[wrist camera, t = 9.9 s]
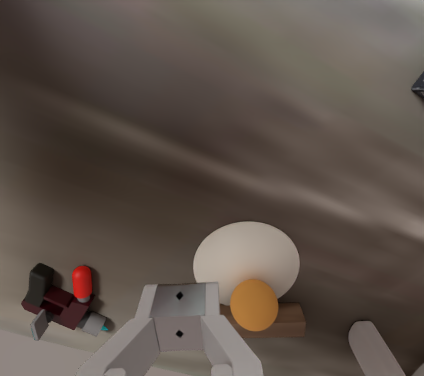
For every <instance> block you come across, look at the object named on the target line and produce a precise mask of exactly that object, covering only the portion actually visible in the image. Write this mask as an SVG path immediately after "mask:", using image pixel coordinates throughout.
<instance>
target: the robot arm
mask: <svg viewBox="0 0 424 376" xmlns="http://www.w3.org/2000/svg"><path fill="white" fill-rule="evenodd" d="M179 350H204V352H205V354H206V355H207V357H208V359H209V361H210V363H211V365H212V366H213V367H212V369H211V376H263V370H262V364H261V361H260V360H259V359H258V358H257V356H256V355H255V354H254V353H253V351H252V350H251V349H250V348H249V346H248V345H247V344H246V343H245V341H244V340H243V339H242V338H241V336H240V335H239V334H238V333H237V331H236V330H235V329H234V328H233V326H232V325H231V324H230V323H229V321H228V320H227V319H226V318H225V316H224V315H220V300H219V283H218V282H202V283H183V284H156V285H145V287H144V289H143V292H142V295H141V298H140V302H139V305H138V308H137V311H136V315H135V318H134V319H130V320H129V321H128V322H127V323H126V324H125V325H124V326H122V327H121V328H120V329H119V330H118V331H117V332H116V333H115V334H114V335H113V336H112V337H111V338H110V339H109V340H108V341H107V342H106V343H105V344H104V345H103V346H101V347H100V348H99V349H98V350H97V351H96V352H95V353H94V354H93V355H92V356H91V357H90V358H89V359H88V360H87V361H86V362H85V363H84V364H83V365H82V366H81V367H79V368H78V371H77V373H76V375H75V376H144V375H145V374H146V373H147V371H148V370H149V368H150V367H151V365H152V364H153V363H154V361H155V360H156V358H157V357H158V355H159V354H160V352H164V351H179Z"/></svg>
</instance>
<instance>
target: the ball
mask: <svg viewBox="0 0 424 376" xmlns="http://www.w3.org/2000/svg"><path fill="white" fill-rule="evenodd" d="M230 308H231V312H232V315H233V317H234V319H235V320H236V322H237V323H238V324H239V325H240V326H242V327H243V328H245V329H247V330H250V331H262V330H264V329H266V328H268V327H269V326H270V325H272V323H273V322H274V321H275V319H276V317H277V313H278V300H277V297H276V295H275V293H274V291H273V290H272V288H271V287H270V286H269V285H267V284H266V283H264V282H263V281H260V280H256V279H249V280H245V281H243V282H241V283H240V284H238V285H237V286H236V288H235V289H234V291H233V293H232V295H231V299H230Z"/></svg>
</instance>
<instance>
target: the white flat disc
mask: <svg viewBox="0 0 424 376" xmlns="http://www.w3.org/2000/svg"><path fill="white" fill-rule="evenodd" d="M299 268H300V259H299V254H298V251H297V249H296V247H295V245H294V243H293V242H292V240H291V239H290V238H289V237H288V236H287V235H286V234H285V233H284V232H282V231H281V230H279V229H277V228H276V227H273V226H271V225H268V224H265V223H261V222H254V221H244V222H236V223H231V224H228V225H225V226H223V227H221V228H219V229H217V230H215V231H214V232H212V233H211V234H210V235H208V236H207V237H206V238H205V239H204V240H203V241H202V243H201V244H200V246H199V247H198V249H197V251H196V254H195V257H194V262H193V271H194V276H195V279H196V281H197V283H202V282H218V283H219V300H220V303H221V304H224V305H230V299H231V295H232V293H233V291H234V289H235V288H236V286H237V285H238V284H240V283H241V282H243V281H245V280H249V279H256V280H260V281H263V282H264V283H266V284H267V285H269V286H270V287H271V288H272V290H273V291H274V293H275V295H276V297H277V299H278V298H280V297H281V296H282V295H284V294H285V293H286V292H287V291H288V290H289V289H290V288H291V286H292V285H293V284H294V282H295V280H296V278H297V276H298V273H299Z"/></svg>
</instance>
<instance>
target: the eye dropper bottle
mask: <svg viewBox="0 0 424 376" xmlns="http://www.w3.org/2000/svg"><path fill="white" fill-rule="evenodd" d="M348 339H349V344H350V347H351V349H352V351H353V353H354V355H355V357H356V359H357V361H358V363H359V365H360V367H361V369H362V371H363V373H364V375H365V376H406V375H405V373H404V372H403V370H402V369H401V367H400V365H399V364H398V362H397V361H396V359H395V357H394V356H393V354H392V353H391V351H390V349H389V348H388V346H387V345H386V343H385V342H384V340H383V338H382V337H381V335H380V334H379V332H378V331H377V329H376V328H375V326H374V324H373V323H372V322H371V321H358V322H355V323H354V324H353V325H352V327H351V329H350V331H349V336H348Z"/></svg>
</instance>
